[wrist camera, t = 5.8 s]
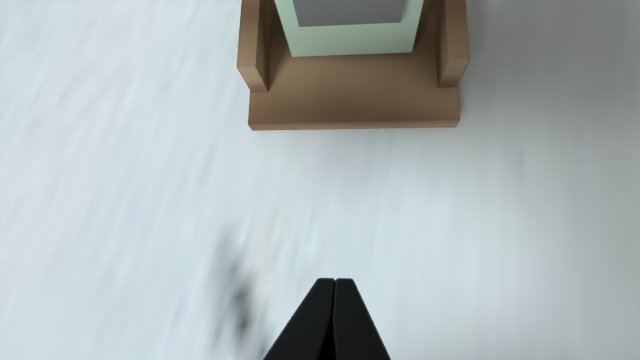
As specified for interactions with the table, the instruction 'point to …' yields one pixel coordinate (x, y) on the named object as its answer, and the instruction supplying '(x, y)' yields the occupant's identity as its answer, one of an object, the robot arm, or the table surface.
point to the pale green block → (349, 26)
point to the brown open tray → (353, 75)
